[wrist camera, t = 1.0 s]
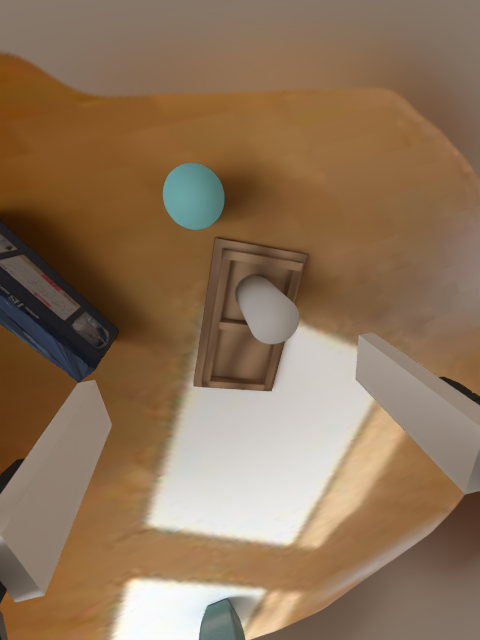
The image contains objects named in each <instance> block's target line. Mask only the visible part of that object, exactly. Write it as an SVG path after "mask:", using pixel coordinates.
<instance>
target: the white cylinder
mask: <svg viewBox="0 0 480 640" xmlns="http://www.w3.org/2000/svg"><path fill="white" fill-rule="evenodd" d="M235 298H236V301H237V303H238V305H239V307H240V309H241V311H242V313H243V315H244V317H245V319H246V322H247V324H248V326H249V328H250V330H251V332H252V334H253V335H254V337H255V338H256V339H258V340H259V341H261V342H263V343H266V344H278V343H281V342H283V341H285V340H287V339H288V338H290V337H291V336H292V335H293V333H294V332H295V331H296V329H297V327H298V324H299V312H298V309H297V307H296V306H295V304H294V303H293V302H292V301H291V300H290V299H288V298H287V297H286V296H285V295H284V294H283V293H282V292H281V291H280V290H278V289H277V288H276V287H275V286H274V285H273V284H272V283H271V282H270V281H268V280H267V279H266V278H265V277H263V276H261V275H256V274H253V275H248V276H246V277H244V278H243V279H242V280H241V281H240V282H239V283H238V285H237V287H236V290H235Z"/></svg>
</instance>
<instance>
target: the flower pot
mask: <svg viewBox="0 0 480 640" xmlns="http://www.w3.org/2000/svg"><path fill="white" fill-rule="evenodd" d="M199 640H245V635H244V631H243V628H242V625H241V622H240V619H239V617H238V615H237V613H236V611H235V609H234V608H233V606H232V605H231V604H230V602H229V601H228V600H227V599H225V600H223V601H220V602H218V603H215V604H213V605H210V606H208V607H207V608H206V611H205V613H204V616H203V619H202V622H201V627H200V634H199Z"/></svg>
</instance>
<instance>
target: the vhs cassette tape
mask: <svg viewBox="0 0 480 640" xmlns="http://www.w3.org/2000/svg"><path fill="white" fill-rule="evenodd" d="M0 324H1V325H3V326H4V327H5V328H7V329H8V330H9V331H11V332H12V333H14V334H15V335H16V336H17V337H19V338H20V339H21V340H23V341H24V342H25V343H27V344H28V345H29V346H30V347H32V348H33V349H35V350H36V351H37V352H39V353H40V354H42V355H43V356H44V357H45V358H47V359H48V360H50V361H51V362H53V363H54V364H56V365H57V366H59V367H60V368H62V370H64V371H65V372H67V373H68V374H69V375H70V376H71V377H72V378H74V379H75V380H76V381H77V382H78V383H79V382H81V380H82V379H84V378H85V377H87V376H88V375H90V374H91V373H92V372H93V371H95V369H96V367H97V366H98V364H99V363H100V361H101V359H102V358H103V357H104V356H105V354H106V352H107V351H108V349H109V348H110V346H111V344H112V342H113V341H114V339H115V338H116V336H117V334H118V329H117V328H116V327H115V326H114V325H113V324H112V323H111V322H110V321H108V320H107V319H106V318H105V317H104V316H103V315H102V314H101V313H100V312H99V311H98V310H97V309H96V308H95V307H93V306H92V305H91V304H90V303H89V302H88V301H87V300H86V299H85V298H84V297H83V296H82V295H80V294H79V293H78V292H77V291H76V290H75V289H74V288H73V287H72V286H71V285H70V284H69V283H68V282H67V281H65V280H64V279H63V278H62V277H61V276H60V275H59V274H58V273H57V272H56V271H55V270H53V269H52V268H51V267H50V266H49V265H48V264H47V263H46V262H45V261H44V260H43V259H42V258H40V257H39V256H38V255H37V254H36V253H35V252H34V251H33V250H32V249H31V248H30V247H28V246H27V245H26V244H25V243H24V242H23V241H22V240H21V239H20V238H19V237H17V236H16V235H15V234H14V233H13V232H12V231H11V230H10V229H9V228H8V227H7V226H5V225H4V224H3V223H2V222H1V221H0Z"/></svg>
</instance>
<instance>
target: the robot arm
mask: <svg viewBox="0 0 480 640" xmlns="http://www.w3.org/2000/svg"><path fill="white" fill-rule="evenodd" d="M356 380H357V381H358V382H359V383H360V384H361V385H362V386H363V387H364V389H365V390H366V391H367V392H368V393H369V394H370V395H371V396H372V397H373V398H374V399H375V400H376V401H377V402H378V403H379V404H380V405H381V406H382V407H383V409H384V410H385V411H386V412H387V413H388V414H389V415H390V416H391V417H392V418H393V419H394V420H395V421H396V422H397V423H398V424H399V425H400V426H401V427H402V429H403V430H404V431H405V432H406V433H407V434H408V435H409V436H410V437H411V438H412V439H413V440H414V441H415V442H416V443H417V444H418V445H419V446H420V447H421V449H422V450H423V451H424V452H425V453H426V454H427V455H428V456H429V457H430V458H431V459H432V460H433V461H434V462H435V463H436V464H437V465H438V466H439V468H440V469H441V470H442V471H443V472H444V473H445V474H446V475H447V476H448V477H449V478H450V479H451V480H452V481H453V482H454V483H455V484H456V485H457V486H458V488H459V489H460V490H461V491H462V492H463V493H464V494H468V493H472V492H476V491H480V396H478V395H477V394H475V393H472V391H471V390H469V389H468V388H466V387H464V386H463V385H461V384H460V383H458V382H455V381H453V380H451V379H448V378H446V377H437V376H436V375H434V374H433V373H431V372H430V371H428V370H427V369H426V368H424V367H423V366H421V365H420V364H418V363H417V362H415V361H414V360H412V359H411V358H409V357H408V356H407V355H405V354H404V353H402V352H401V351H399V350H398V349H396V348H395V347H393V346H392V345H391V344H389V343H388V342H386V341H385V340H383V339H382V338H380V337H379V336H377V335H376V334H374V333H373V332H371V333H365V334H360V335H359V337H358V353H357V368H356ZM111 427H112V423H111V421H110V418H109V415H108V413H107V410H106V408H105V405H104V402H103V400H102V397H101V394H100V392H99V389H98V386H97V384H96V381H95V380H92V381H86V382H80V383H78V384H77V385H76V387H75V388H74V389H73V391H72V392H71V394H70V395H69V397H68V398H67V399H66V401H65V402H64V404H63V405H62V407H61V408H60V410H59V411H58V412H57V414H56V415H55V417H54V418H53V420H52V421H51V422H50V424H49V425H48V427H47V428H46V430H45V431H44V433H43V434H42V435H41V437H40V438H39V440H38V441H37V443H36V444H35V445H34V447H33V448H32V450H31V451H30V453H29V454H28V456H27V457H26V458H24V459H19V460H16V461H15V462H14V463H13V464H12V465H11V466H10V467H8V468H7V469H6V470H5V471H4V472H3V473H2V474H1V475H0V603H1V601H2V599H3V597H4V595H5V593H6V591H7V592H8V593H9V595H10V596H11V597H12V598H13V600H14V601H15V602H18V601H23V600H27V599H31V598H35V597H39V596H43V595H45V593H46V590H47V588H48V585H49V583H50V580H51V578H52V575H53V573H54V570H55V567H56V565H57V562H58V560H59V557H60V555H61V552H62V550H63V547H64V545H65V542H66V540H67V537H68V535H69V532H70V530H71V527H72V525H73V522H74V520H75V517H76V515H77V512H78V510H79V507H80V505H81V502H82V500H83V497H84V495H85V492H86V490H87V487H88V485H89V482H90V479H91V477H92V474H93V472H94V469H95V467H96V464H97V462H98V459H99V457H100V454H101V452H102V449H103V447H104V444H105V442H106V439H107V437H108V434H109V432H110V429H111ZM0 640H8V638H7V633H6V629H5V624H4V619H3V615H2V613H1V612H0Z"/></svg>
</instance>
